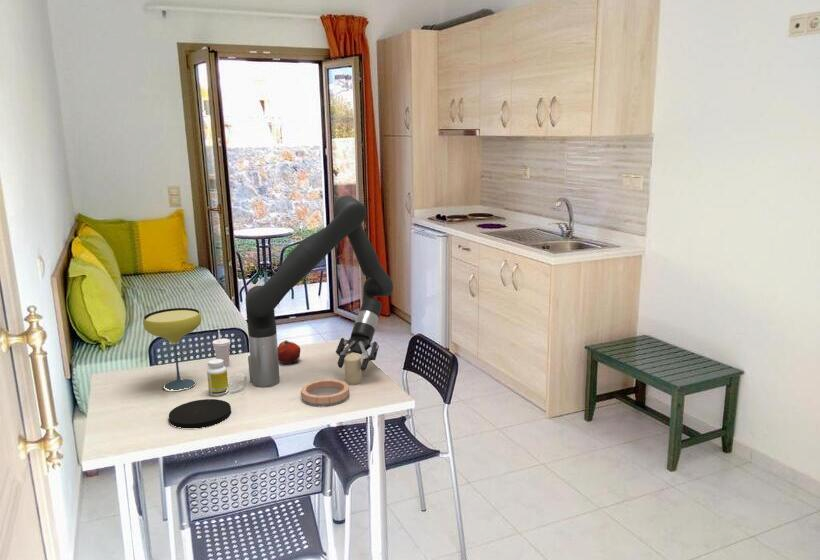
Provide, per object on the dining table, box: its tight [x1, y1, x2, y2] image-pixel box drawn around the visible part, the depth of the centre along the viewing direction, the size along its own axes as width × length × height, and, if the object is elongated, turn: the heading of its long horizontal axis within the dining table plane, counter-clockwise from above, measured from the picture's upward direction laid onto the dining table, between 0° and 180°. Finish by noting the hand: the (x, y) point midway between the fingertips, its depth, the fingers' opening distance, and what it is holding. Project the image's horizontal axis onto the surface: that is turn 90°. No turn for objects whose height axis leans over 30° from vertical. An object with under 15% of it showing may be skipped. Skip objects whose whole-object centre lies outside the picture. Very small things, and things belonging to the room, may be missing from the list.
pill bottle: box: [206, 358, 229, 397], centre depth 209 cm, size 6×6×11 cm
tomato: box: [277, 340, 301, 364], centre depth 238 cm, size 9×9×8 cm
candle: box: [344, 353, 362, 386], centre depth 217 cm, size 6×6×10 cm
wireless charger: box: [168, 398, 232, 429], centre depth 193 cm, size 18×18×2 cm
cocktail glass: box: [142, 307, 202, 390], centre depth 215 cm, size 18×18×25 cm
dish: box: [300, 378, 350, 408], centre depth 205 cm, size 15×15×3 cm
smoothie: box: [212, 329, 232, 368], centre depth 234 cm, size 6×6×14 cm
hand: (351, 368), depth 215 cm, fingers open, 8 cm apart
